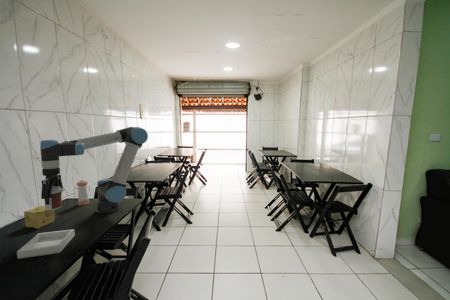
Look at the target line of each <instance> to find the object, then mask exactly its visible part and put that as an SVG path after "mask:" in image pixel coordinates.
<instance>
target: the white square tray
mask: <svg viewBox="0 0 450 300" xmlns="http://www.w3.org/2000/svg"><path fill="white" fill-rule="evenodd" d="M75 232H76V231H75V229H74V228H73V229H64V230H57V231H47V232H39V233H37V234H36V235H35V236H33V237H32V238H31V239H30V240H29V241H28V242H27V243H25V244H24V245H23V246H22V247H20V248H19V249H18V250H17V251H16V257H17V259H18V260H19V259H20V260H21V259H26V258H33V257H40V256H48V255H53V254H56V255H57V254H60V253H61V252H62V251H63V250H64V249H65V247H67V246H68V244H69V243H70V242H71V241H72V239H73V238H74V237H75V236H76V234H75Z"/></svg>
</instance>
